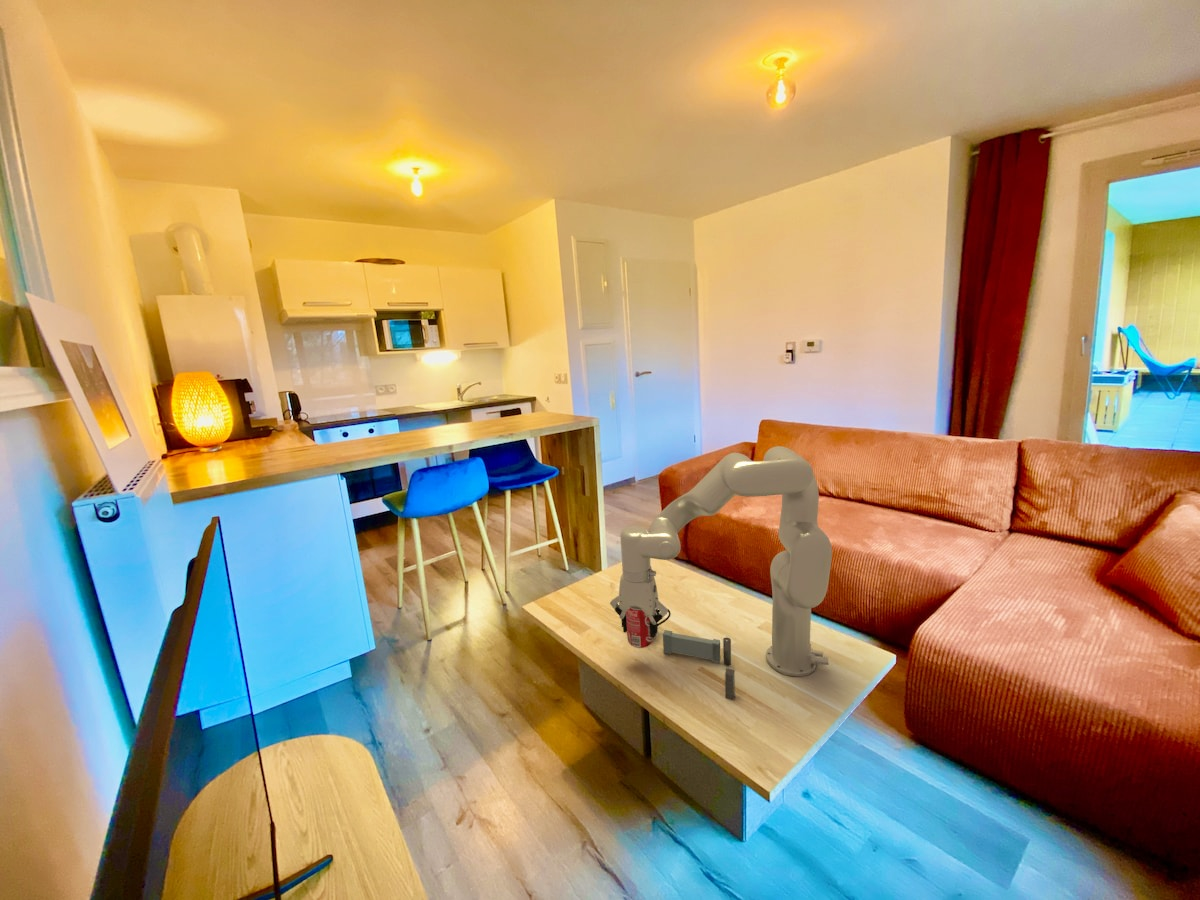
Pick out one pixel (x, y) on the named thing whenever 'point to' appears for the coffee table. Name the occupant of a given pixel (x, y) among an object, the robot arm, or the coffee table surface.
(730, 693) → the post
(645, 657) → the coffee table surface
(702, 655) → the gate
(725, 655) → the hinge post
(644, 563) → the robot arm
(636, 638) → the soda can
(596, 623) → the coffee table surface
